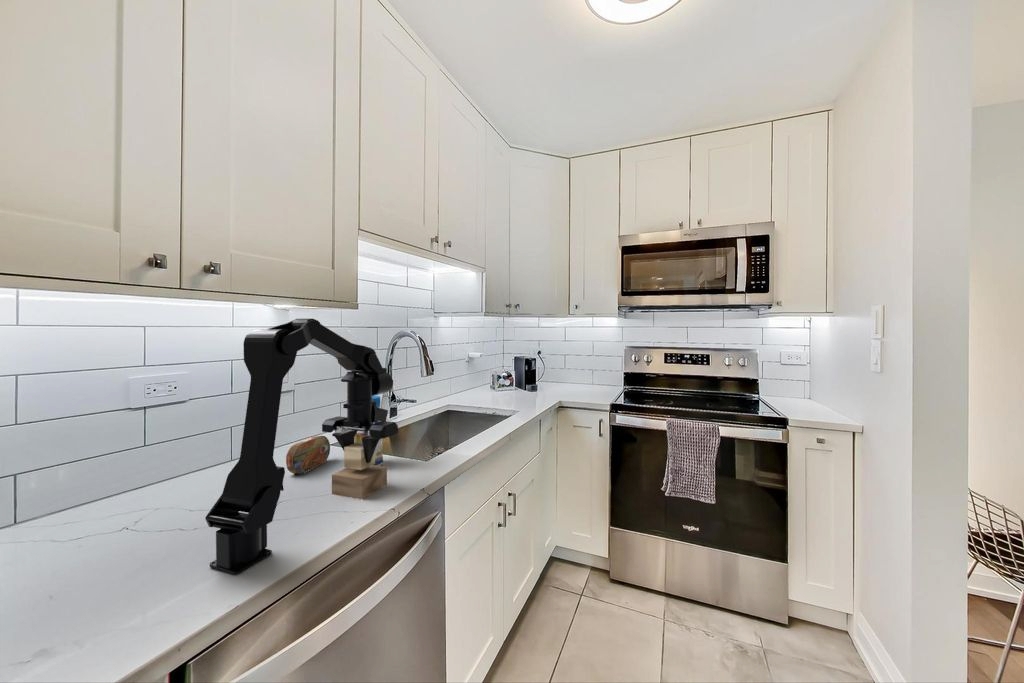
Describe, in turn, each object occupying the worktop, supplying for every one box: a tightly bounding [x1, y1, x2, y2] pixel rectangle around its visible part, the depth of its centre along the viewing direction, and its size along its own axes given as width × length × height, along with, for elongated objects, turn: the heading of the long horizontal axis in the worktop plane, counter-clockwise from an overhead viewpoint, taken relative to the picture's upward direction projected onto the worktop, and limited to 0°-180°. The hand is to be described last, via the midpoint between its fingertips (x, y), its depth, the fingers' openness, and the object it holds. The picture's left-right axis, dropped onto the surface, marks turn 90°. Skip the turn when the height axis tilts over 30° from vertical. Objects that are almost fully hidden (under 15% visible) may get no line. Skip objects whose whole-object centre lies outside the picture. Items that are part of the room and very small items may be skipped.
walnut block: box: [331, 465, 388, 500], centre depth 96 cm, size 9×9×5 cm
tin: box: [285, 435, 331, 475], centre depth 110 cm, size 15×3×8 cm, turn 168°
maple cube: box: [343, 442, 375, 470], centre depth 95 cm, size 5×5×5 cm
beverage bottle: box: [354, 395, 384, 466], centre depth 113 cm, size 8×8×20 cm
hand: (359, 461), depth 95 cm, fingers closed on maple cube, 5 cm apart
